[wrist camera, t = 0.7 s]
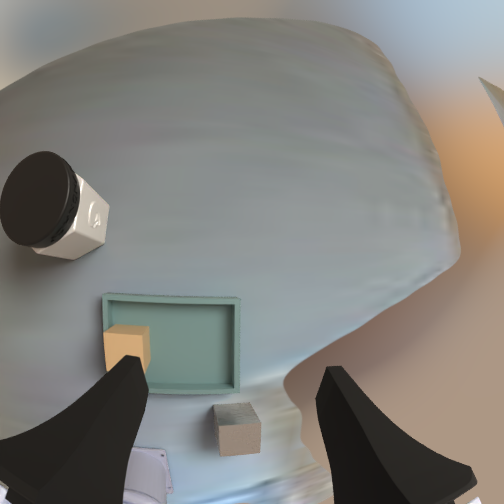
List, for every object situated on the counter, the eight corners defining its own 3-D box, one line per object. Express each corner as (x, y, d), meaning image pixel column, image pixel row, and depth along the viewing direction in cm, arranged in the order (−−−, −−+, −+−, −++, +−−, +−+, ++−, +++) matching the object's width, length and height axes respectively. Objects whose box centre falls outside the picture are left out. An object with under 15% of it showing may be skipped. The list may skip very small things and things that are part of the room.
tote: (235, 385, 30) (239, 392, 28) (114, 381, 27) (109, 389, 24) (236, 297, 31) (240, 298, 29) (108, 292, 28) (102, 293, 25)
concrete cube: (249, 430, 30) (260, 452, 25) (214, 433, 29) (220, 456, 24) (249, 402, 30) (261, 422, 25) (213, 404, 29) (218, 425, 24)
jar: (104, 263, 28) (60, 255, 16) (48, 257, 26) (-9, 247, 14) (114, 188, 29) (82, 143, 17) (59, 186, 27) (13, 148, 15)
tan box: (150, 359, 28) (144, 374, 23) (117, 357, 27) (106, 370, 22) (149, 326, 28) (142, 335, 23) (115, 323, 27) (103, 332, 22)
